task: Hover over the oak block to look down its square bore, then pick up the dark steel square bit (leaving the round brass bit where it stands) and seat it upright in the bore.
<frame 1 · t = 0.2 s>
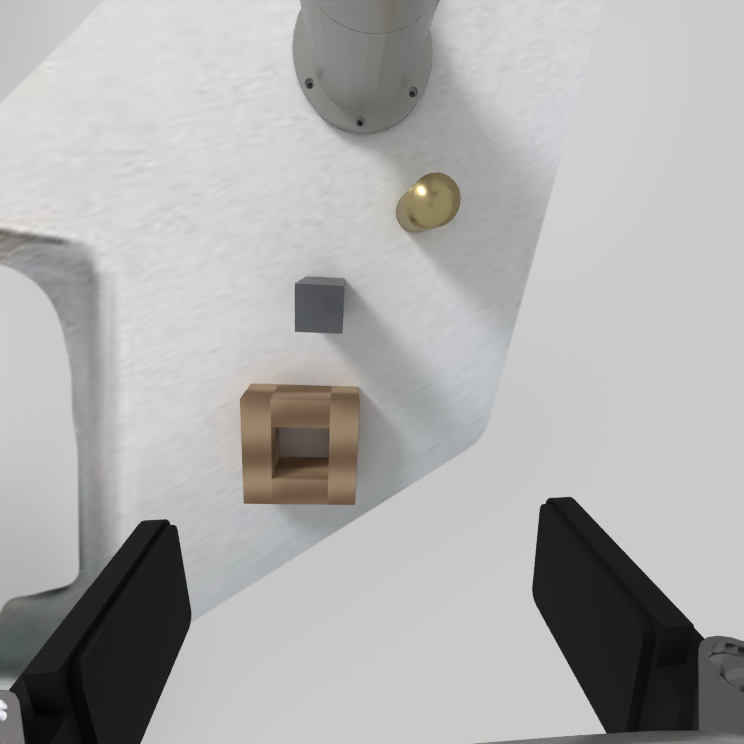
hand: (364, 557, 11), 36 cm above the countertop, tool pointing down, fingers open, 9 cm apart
square bit: (324, 296, 44), on the countertop
bore block: (304, 434, 49), on the countertop
round bit: (415, 212, 43), on the countertop
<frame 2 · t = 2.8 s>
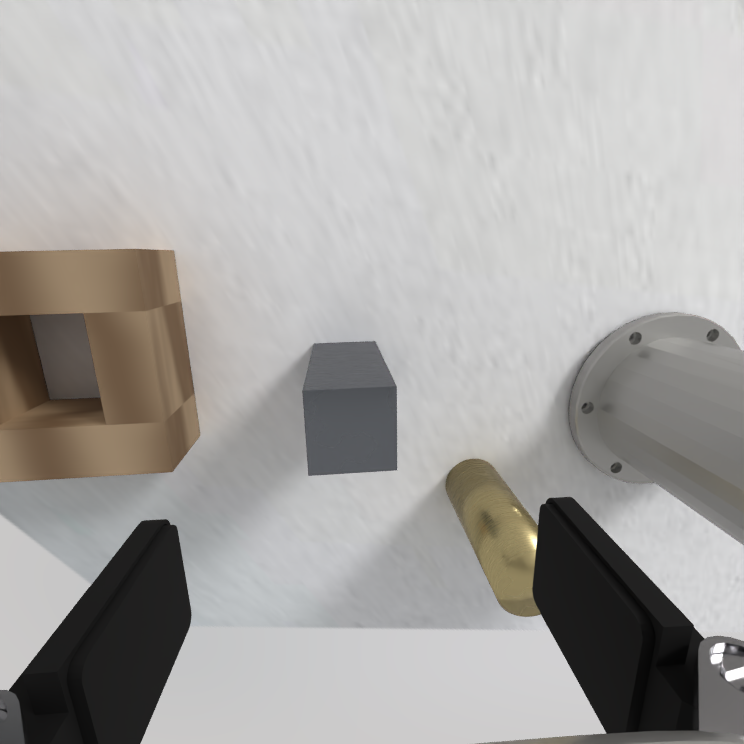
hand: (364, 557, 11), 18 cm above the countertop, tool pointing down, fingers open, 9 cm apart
square bit: (346, 371, 28), on the countertop
bore block: (89, 352, 26), on the countertop
round bit: (471, 483, 31), on the countertop
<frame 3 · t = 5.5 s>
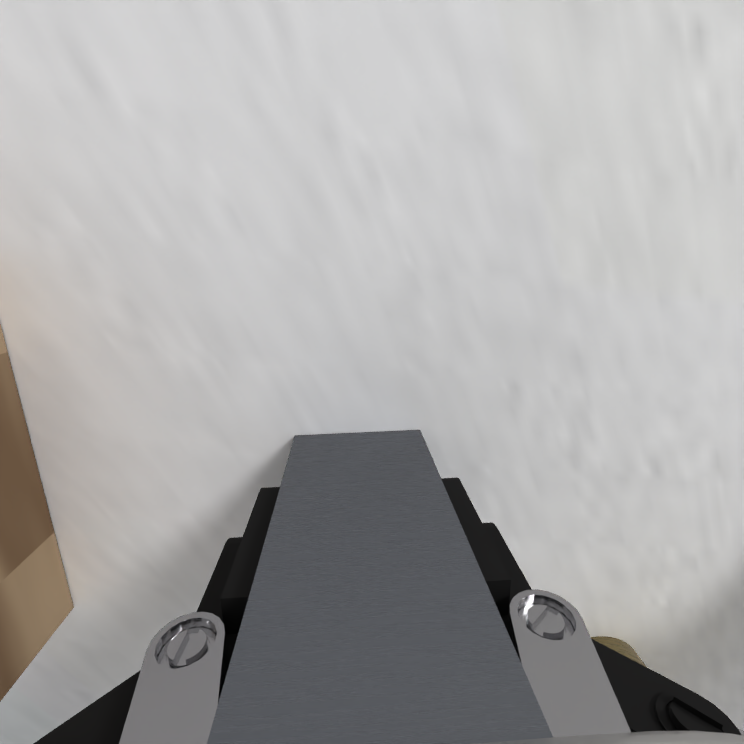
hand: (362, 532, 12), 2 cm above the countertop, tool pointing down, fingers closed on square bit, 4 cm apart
square bit: (359, 488, 14), on the countertop, touching gripper
round bit: (591, 676, 17), on the countertop
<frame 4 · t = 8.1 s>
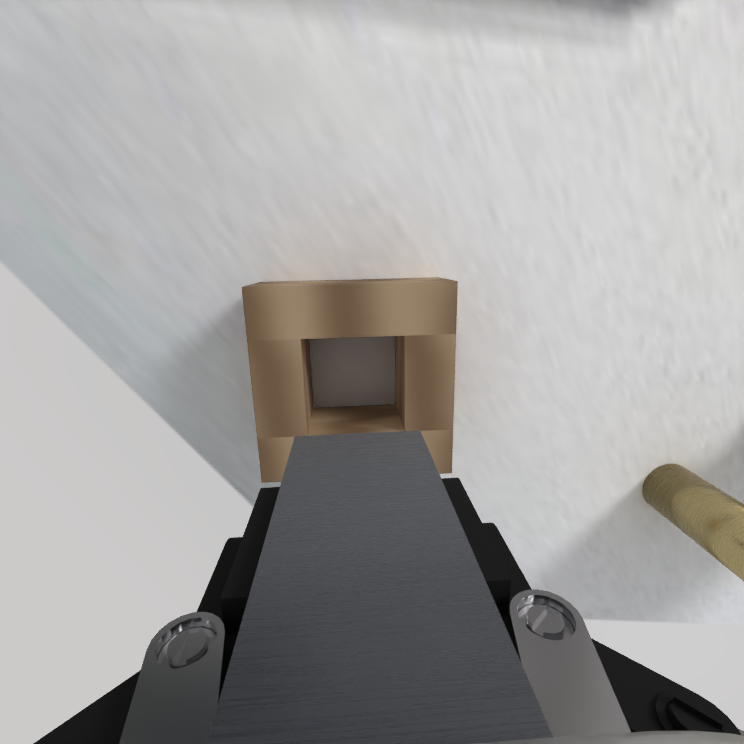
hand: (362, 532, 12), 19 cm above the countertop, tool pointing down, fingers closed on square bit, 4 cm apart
square bit: (359, 489, 14), point 16 cm above the countertop, touching gripper
bore block: (353, 366, 30), on the countertop
round bit: (666, 486, 34), on the countertop
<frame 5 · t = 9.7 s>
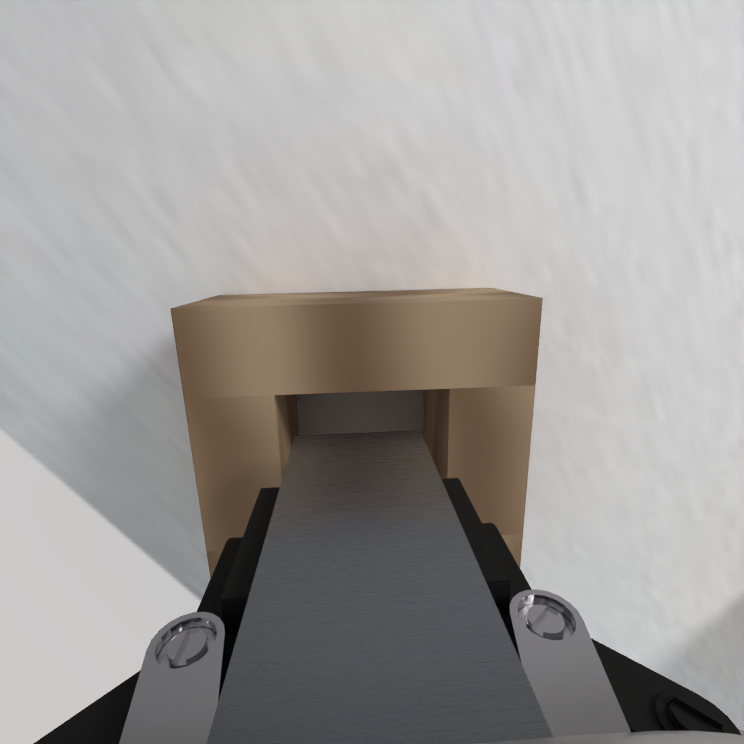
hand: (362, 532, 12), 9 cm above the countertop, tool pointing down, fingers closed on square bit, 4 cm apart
square bit: (359, 489, 14), point 6 cm above the countertop, touching gripper
bore block: (361, 419, 20), on the countertop
when the fingers open (6 cm above the countertop, at t = 11.1 s): square bit drops 3 cm, resting in bore block.
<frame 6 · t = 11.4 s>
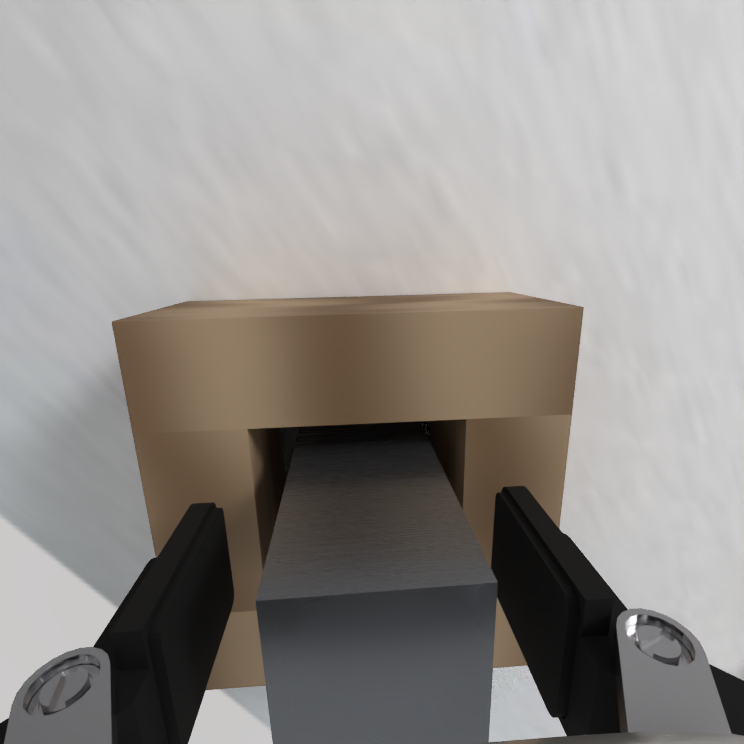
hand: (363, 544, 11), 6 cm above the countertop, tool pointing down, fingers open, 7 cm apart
square bit: (359, 444, 17), resting in bore block
bore block: (357, 445, 17), on the countertop
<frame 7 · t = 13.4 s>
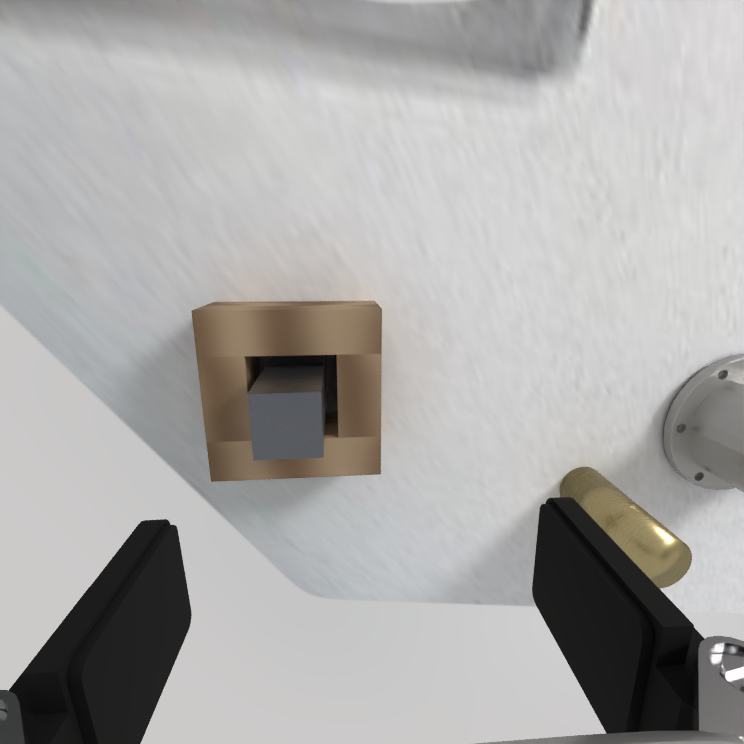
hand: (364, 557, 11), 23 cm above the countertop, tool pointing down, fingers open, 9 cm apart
square bit: (300, 377, 33), resting in bore block
bore block: (299, 377, 33), on the countertop
round bit: (580, 486, 38), on the countertop
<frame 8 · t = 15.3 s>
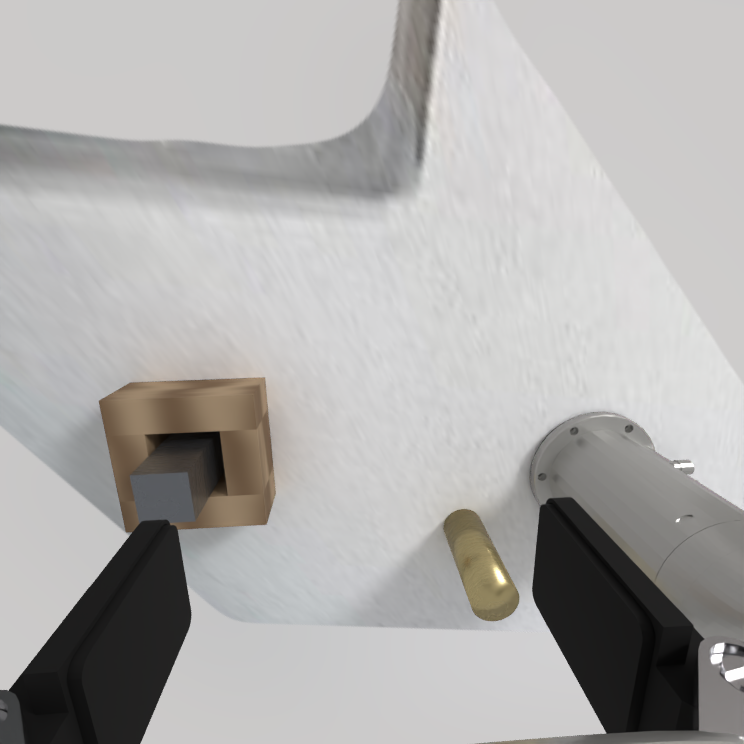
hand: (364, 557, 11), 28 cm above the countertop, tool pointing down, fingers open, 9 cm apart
square bit: (207, 440, 40), resting in bore block
bore block: (206, 440, 40), on the countertop
round bit: (462, 526, 44), on the countertop
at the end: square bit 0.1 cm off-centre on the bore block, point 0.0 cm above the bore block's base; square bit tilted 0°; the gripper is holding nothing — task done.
